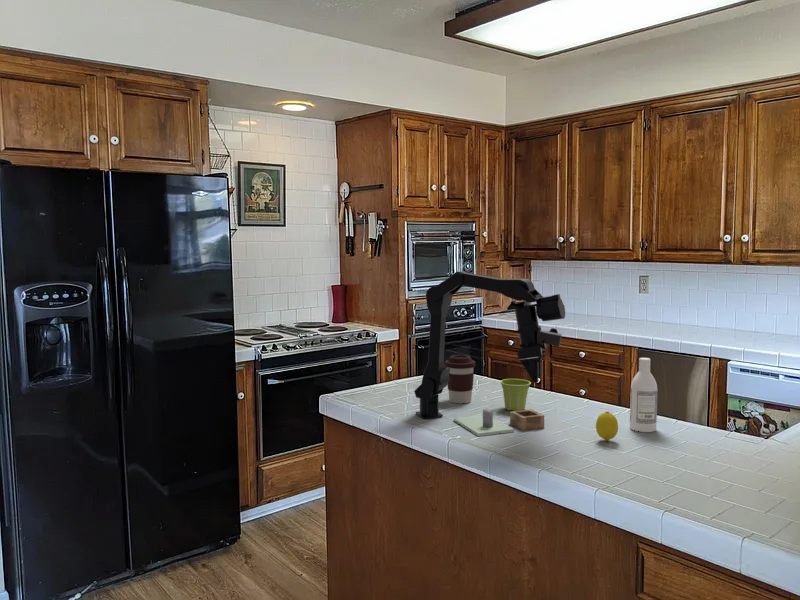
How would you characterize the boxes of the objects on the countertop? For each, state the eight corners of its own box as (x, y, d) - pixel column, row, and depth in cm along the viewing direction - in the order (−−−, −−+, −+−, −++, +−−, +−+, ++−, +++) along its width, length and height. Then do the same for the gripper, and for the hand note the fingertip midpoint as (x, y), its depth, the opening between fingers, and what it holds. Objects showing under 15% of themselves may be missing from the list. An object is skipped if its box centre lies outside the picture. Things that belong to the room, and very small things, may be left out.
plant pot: (521, 404, 206) (521, 377, 205) (536, 411, 197) (536, 383, 196) (494, 406, 203) (495, 379, 202) (509, 414, 194) (509, 386, 193)
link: (509, 423, 184) (510, 411, 184) (531, 421, 186) (531, 409, 186) (522, 430, 178) (522, 417, 177) (544, 427, 180) (544, 415, 180)
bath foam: (661, 431, 175) (664, 359, 173) (641, 434, 173) (643, 361, 171) (644, 424, 182) (646, 355, 180) (624, 427, 179) (626, 357, 177)
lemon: (619, 445, 164) (619, 414, 163) (596, 443, 165) (597, 413, 164) (616, 438, 169) (616, 409, 169) (594, 437, 170) (595, 408, 170)
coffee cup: (480, 400, 212) (480, 355, 210) (467, 406, 203) (467, 360, 202) (453, 396, 217) (453, 352, 215) (439, 402, 208) (439, 357, 207)
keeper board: (453, 420, 187) (453, 403, 187) (487, 417, 191) (487, 399, 191) (478, 436, 172) (478, 417, 172) (513, 431, 176) (514, 413, 176)
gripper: (555, 322, 165) (565, 381, 165) (558, 316, 183) (568, 370, 183) (512, 328, 168) (522, 386, 168) (520, 322, 186) (529, 375, 186)
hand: (537, 379), depth 176 cm, fingers open, 9 cm apart
